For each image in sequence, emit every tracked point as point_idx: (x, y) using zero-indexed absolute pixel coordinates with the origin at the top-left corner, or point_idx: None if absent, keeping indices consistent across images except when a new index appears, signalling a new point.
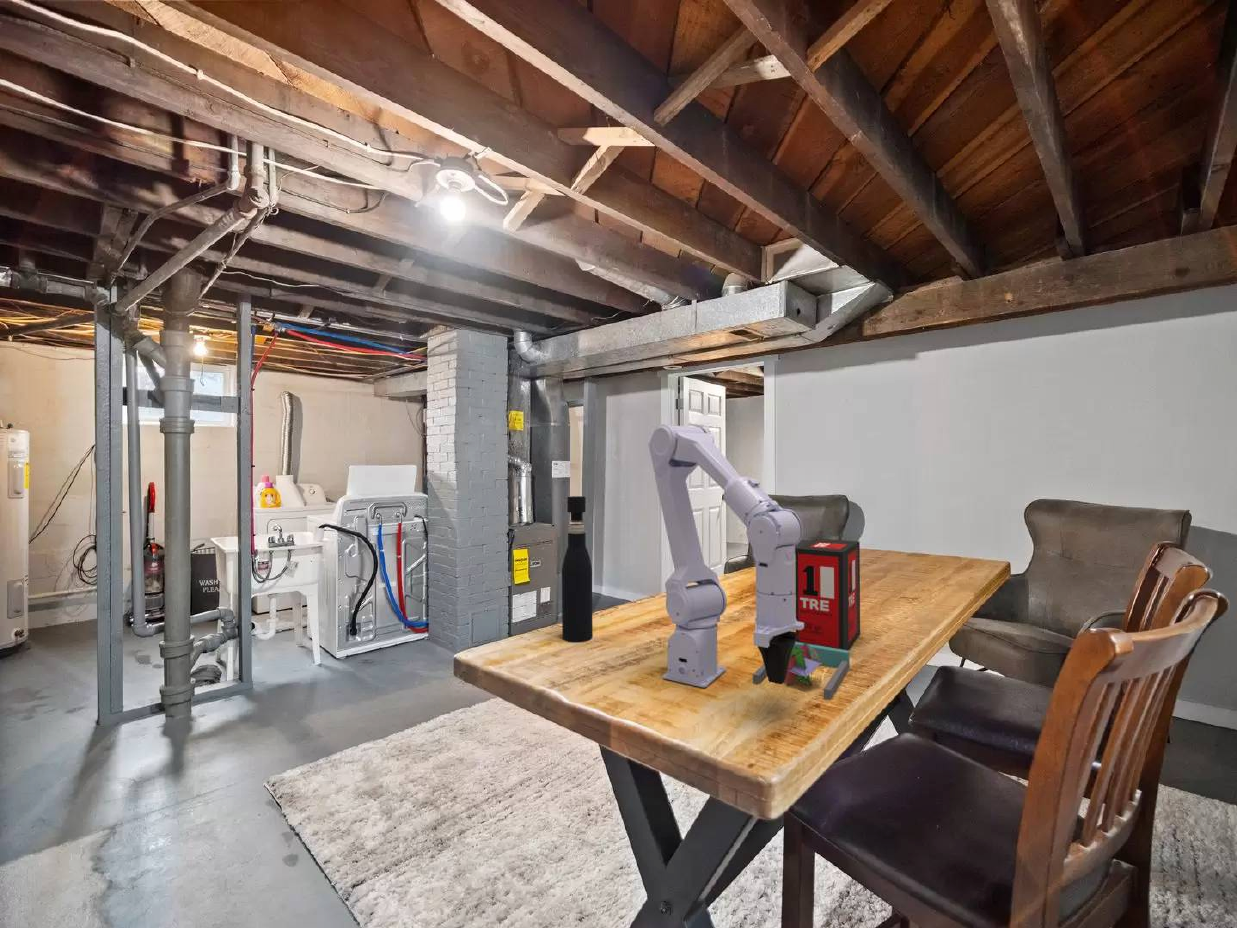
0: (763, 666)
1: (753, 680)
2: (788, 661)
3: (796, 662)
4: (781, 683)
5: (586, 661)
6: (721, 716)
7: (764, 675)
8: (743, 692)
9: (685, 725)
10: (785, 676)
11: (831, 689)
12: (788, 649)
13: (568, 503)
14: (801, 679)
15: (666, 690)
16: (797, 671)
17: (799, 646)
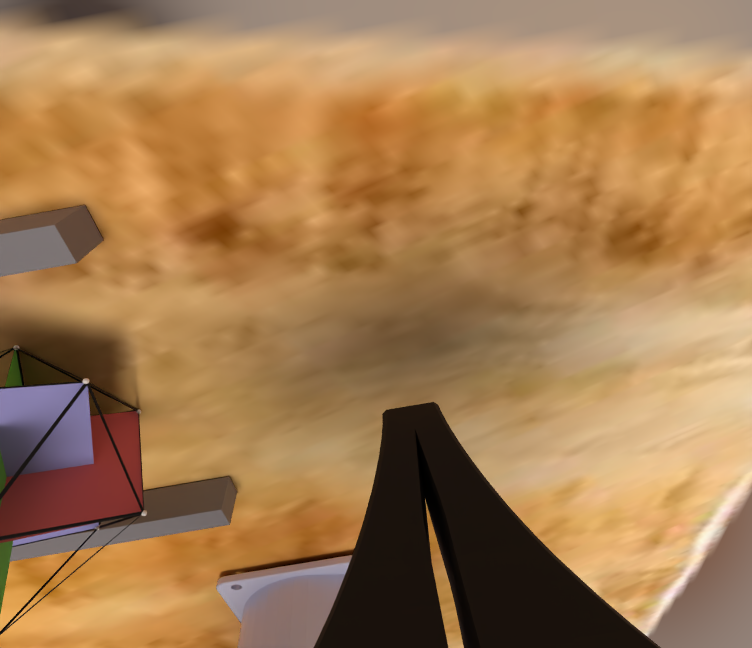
0: (116, 536)
1: (233, 499)
2: (388, 508)
3: (5, 485)
4: (438, 406)
5: None
6: (568, 432)
7: (151, 499)
8: (338, 474)
9: (675, 461)
10: (400, 428)
11: (25, 228)
12: (600, 636)
13: None
14: (100, 389)
15: None
16: (67, 437)
17: None
